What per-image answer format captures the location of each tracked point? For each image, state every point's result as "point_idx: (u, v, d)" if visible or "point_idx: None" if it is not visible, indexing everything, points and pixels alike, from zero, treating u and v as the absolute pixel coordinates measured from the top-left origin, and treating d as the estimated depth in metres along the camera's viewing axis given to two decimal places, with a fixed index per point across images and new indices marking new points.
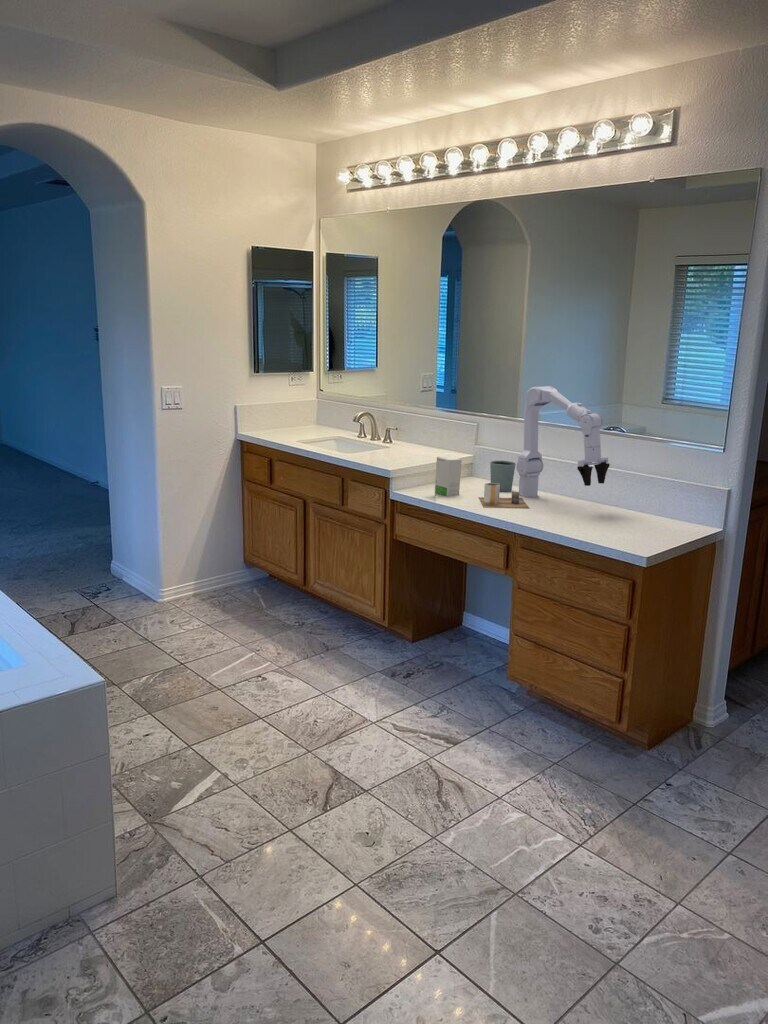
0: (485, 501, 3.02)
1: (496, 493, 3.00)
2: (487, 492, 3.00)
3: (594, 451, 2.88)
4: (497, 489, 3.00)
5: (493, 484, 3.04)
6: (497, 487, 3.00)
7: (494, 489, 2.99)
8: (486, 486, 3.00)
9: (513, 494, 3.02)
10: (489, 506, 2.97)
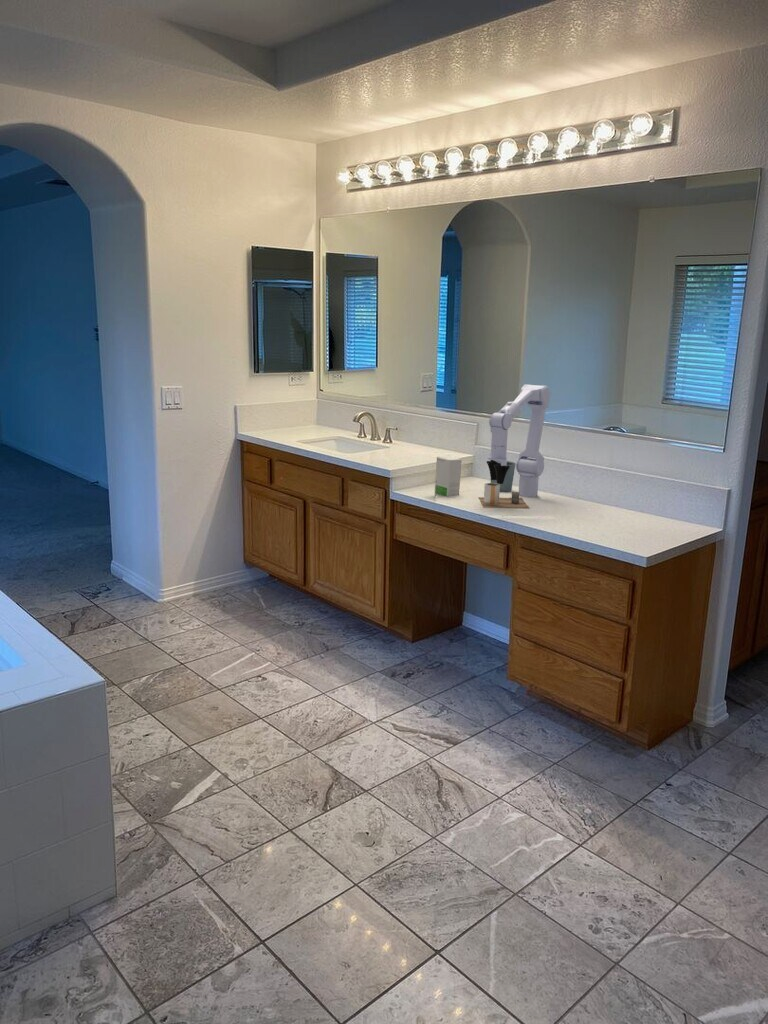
0: (485, 501, 3.02)
1: (496, 493, 3.00)
2: (487, 492, 3.00)
3: None
4: (497, 489, 3.00)
5: (493, 484, 3.04)
6: (497, 487, 3.00)
7: (494, 489, 2.99)
8: (486, 486, 3.00)
9: (513, 494, 3.02)
10: (489, 506, 2.97)
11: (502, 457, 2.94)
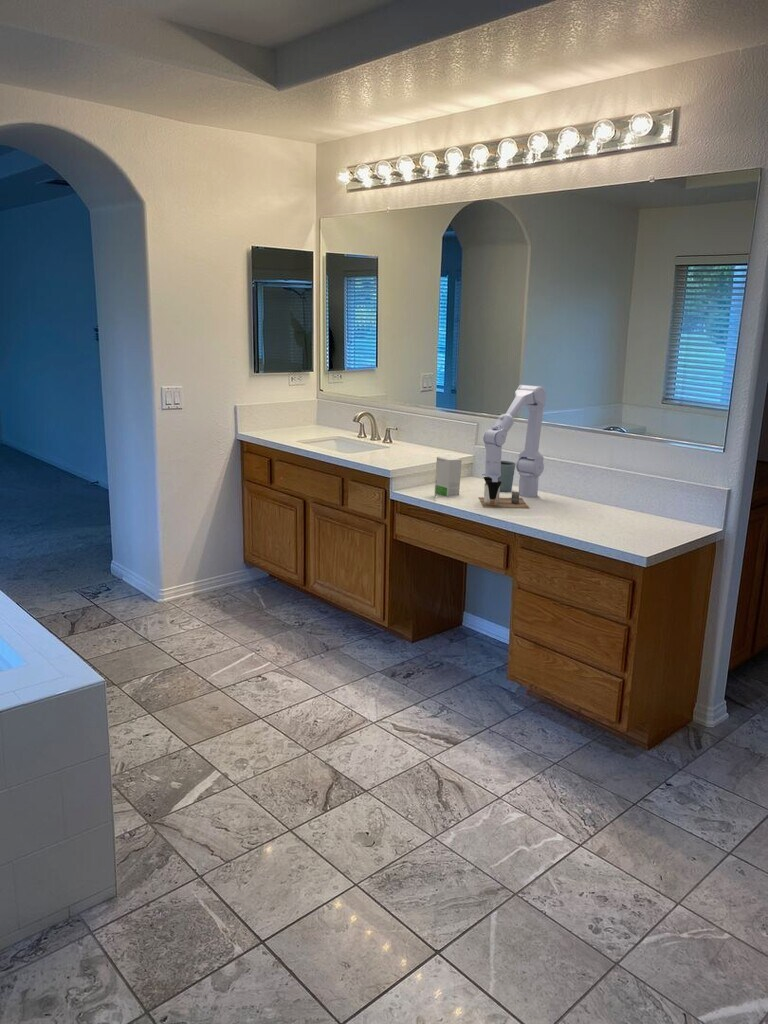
0: (485, 501, 3.02)
1: None
2: (487, 492, 3.00)
3: None
4: None
5: None
6: None
7: None
8: (486, 486, 3.00)
9: (513, 494, 3.02)
10: (489, 506, 2.97)
11: (495, 473, 2.98)
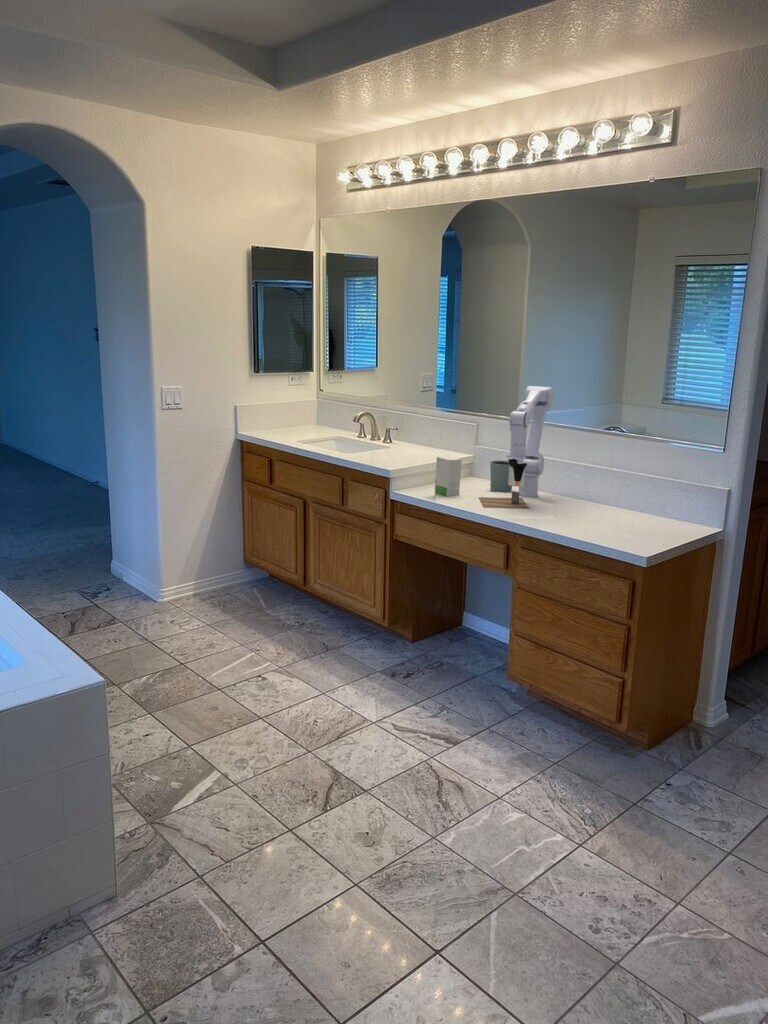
0: (510, 483, 3.00)
1: None
2: (512, 474, 2.99)
3: None
4: None
5: None
6: None
7: None
8: (511, 468, 2.99)
9: (513, 494, 3.02)
10: (489, 506, 2.97)
11: (520, 455, 2.96)
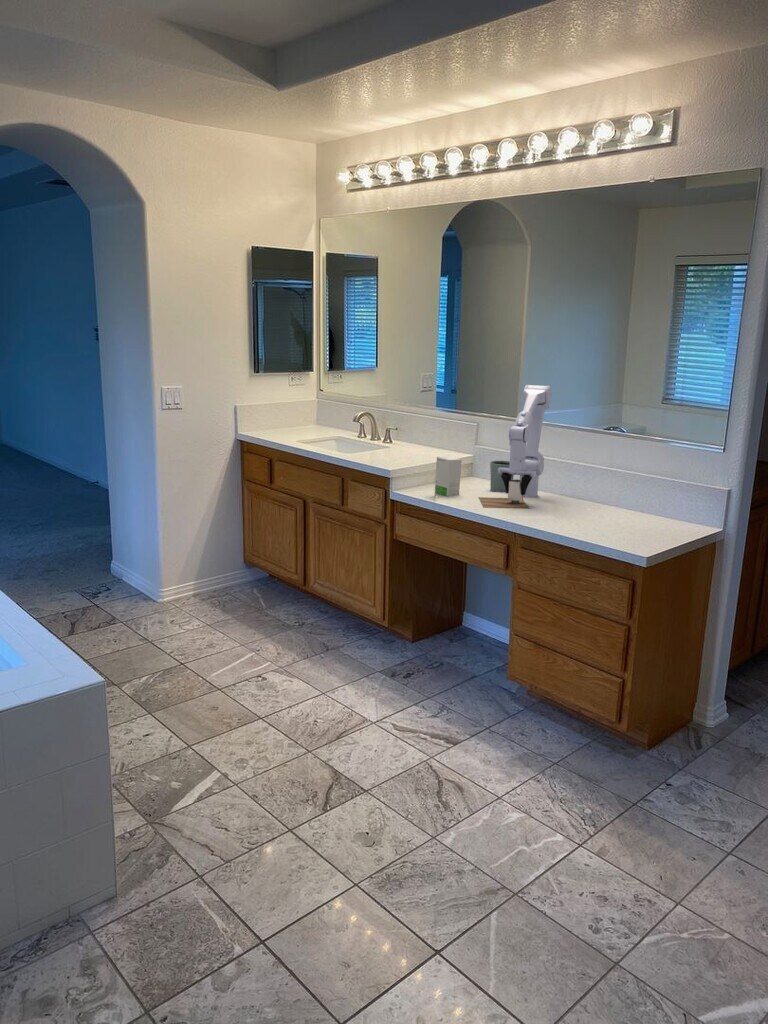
0: (516, 498, 3.00)
1: None
2: (519, 489, 2.99)
3: (510, 462, 2.99)
4: None
5: (512, 480, 3.03)
6: None
7: None
8: (518, 483, 2.99)
9: None
10: (489, 506, 2.97)
11: (524, 469, 3.00)
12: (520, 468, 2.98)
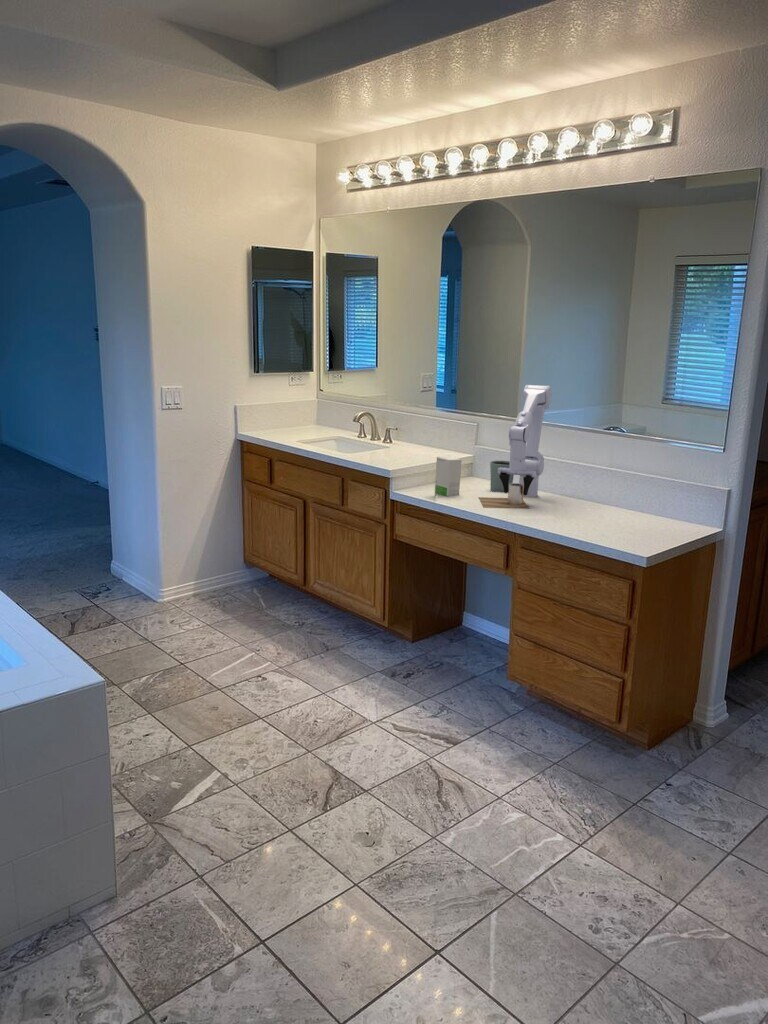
0: (516, 502, 3.00)
1: None
2: (518, 493, 3.00)
3: (510, 462, 2.99)
4: None
5: (511, 484, 3.03)
6: None
7: (523, 488, 3.01)
8: (517, 487, 2.99)
9: None
10: (489, 506, 2.97)
11: (524, 469, 3.00)
12: (520, 468, 2.98)
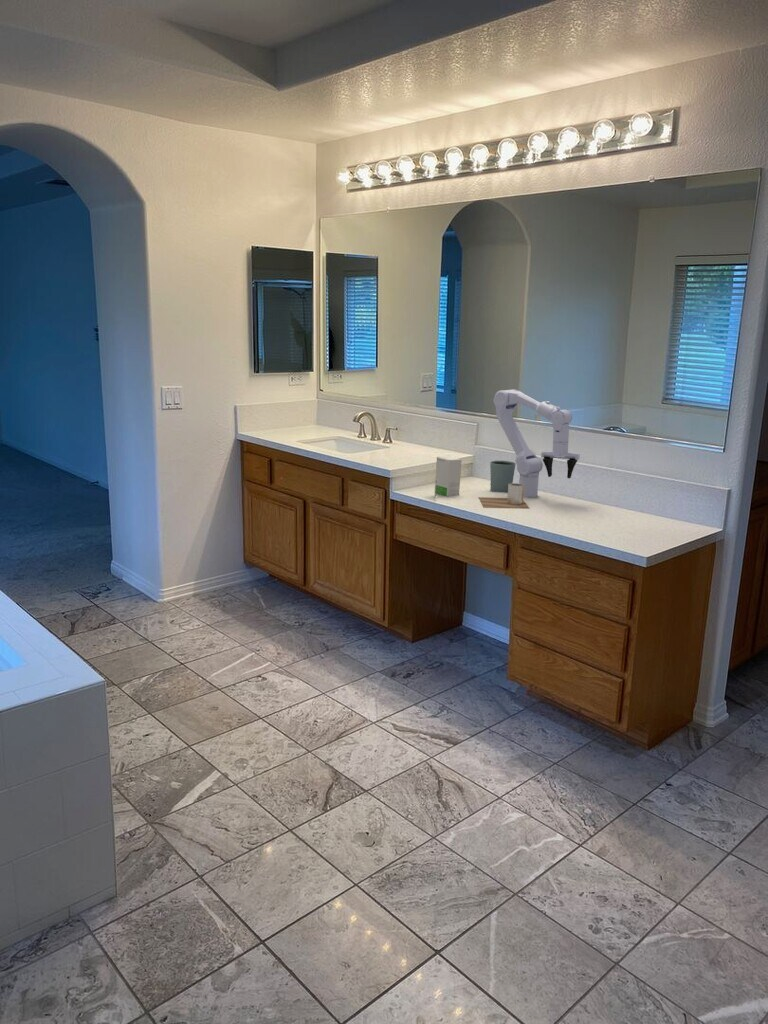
0: (516, 502, 3.00)
1: None
2: (518, 493, 3.00)
3: (553, 445, 3.04)
4: None
5: (511, 484, 3.03)
6: None
7: (523, 488, 3.01)
8: (517, 487, 2.99)
9: None
10: (489, 506, 2.97)
11: (567, 452, 3.04)
12: (563, 451, 3.02)
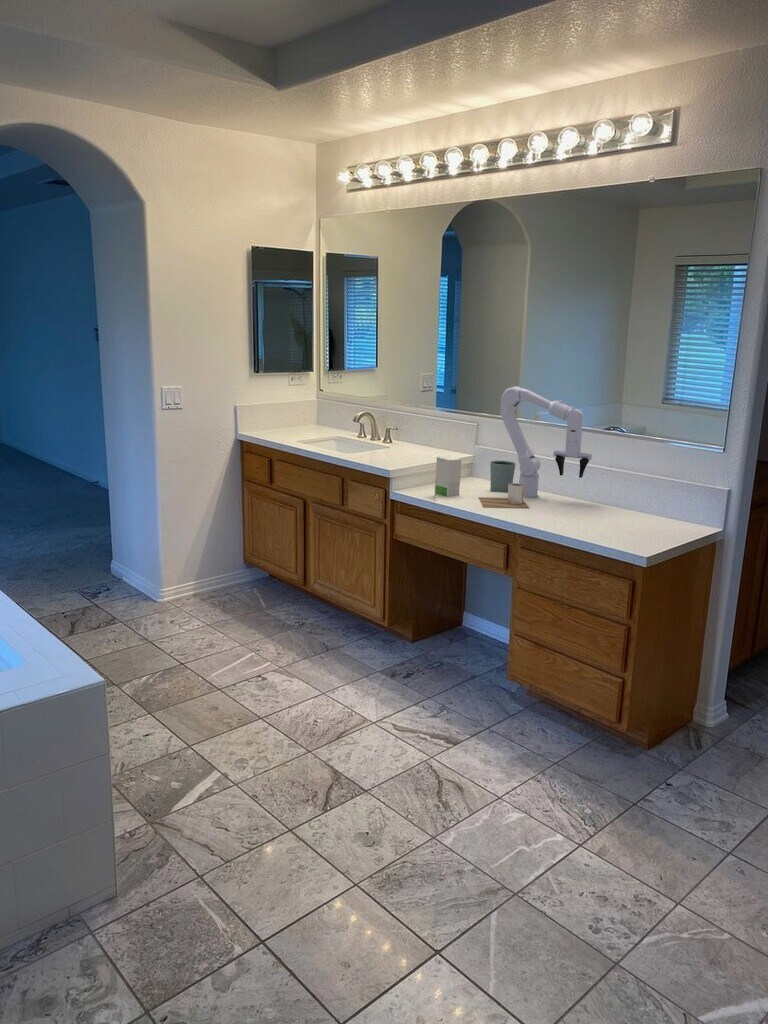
0: (516, 502, 3.00)
1: None
2: (518, 493, 3.00)
3: (566, 445, 3.06)
4: None
5: (511, 484, 3.03)
6: None
7: (523, 488, 3.01)
8: (517, 487, 2.99)
9: None
10: (489, 506, 2.97)
11: (580, 452, 3.07)
12: (576, 451, 3.05)
